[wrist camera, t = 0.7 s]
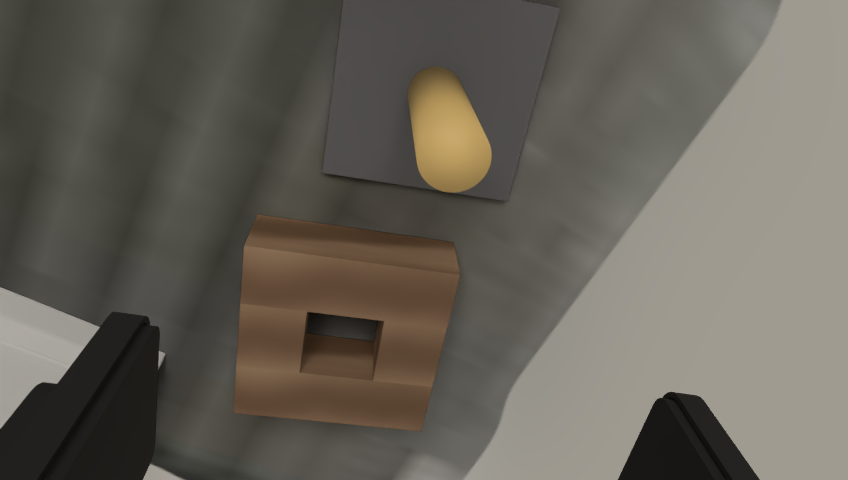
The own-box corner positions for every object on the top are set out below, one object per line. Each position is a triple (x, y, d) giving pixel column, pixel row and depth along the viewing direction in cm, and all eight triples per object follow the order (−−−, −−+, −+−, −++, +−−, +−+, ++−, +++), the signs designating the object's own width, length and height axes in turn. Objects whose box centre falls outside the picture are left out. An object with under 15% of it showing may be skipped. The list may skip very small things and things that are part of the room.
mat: (348, -36, 30) (347, -35, 30) (557, 6, 32) (560, 8, 31) (323, 169, 35) (322, 172, 35) (505, 197, 37) (507, 201, 36)
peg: (413, 62, 32) (424, 114, 23) (468, 72, 33) (499, 128, 24) (403, 116, 34) (410, 186, 25) (456, 125, 34) (481, 197, 25)
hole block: (257, 214, 36) (244, 245, 33) (453, 242, 38) (460, 274, 34) (246, 371, 42) (233, 412, 38) (418, 389, 43) (421, 431, 40)
